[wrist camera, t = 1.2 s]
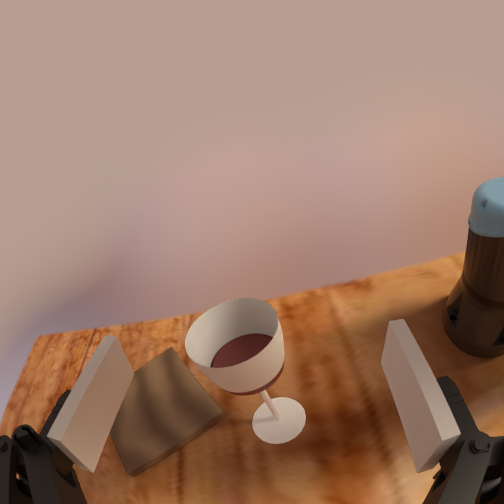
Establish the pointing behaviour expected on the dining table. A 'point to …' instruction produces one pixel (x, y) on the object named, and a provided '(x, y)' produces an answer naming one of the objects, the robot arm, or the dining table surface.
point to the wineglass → (247, 361)
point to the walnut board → (161, 413)
